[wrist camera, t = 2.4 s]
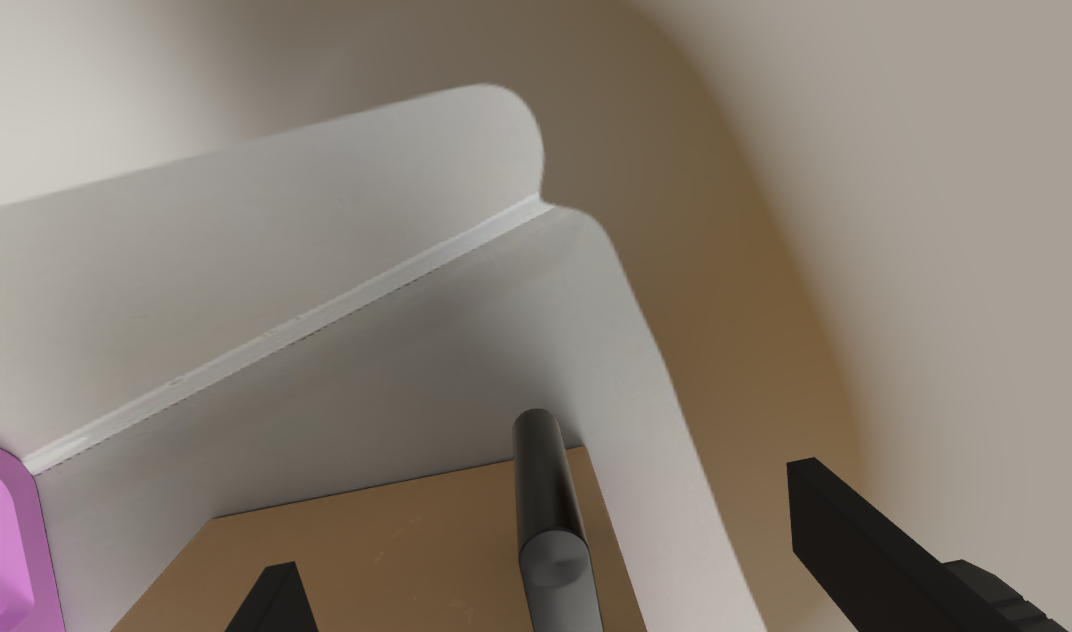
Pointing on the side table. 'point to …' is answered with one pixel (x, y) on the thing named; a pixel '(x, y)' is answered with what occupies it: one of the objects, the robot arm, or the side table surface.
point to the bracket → (24, 556)
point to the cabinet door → (422, 553)
